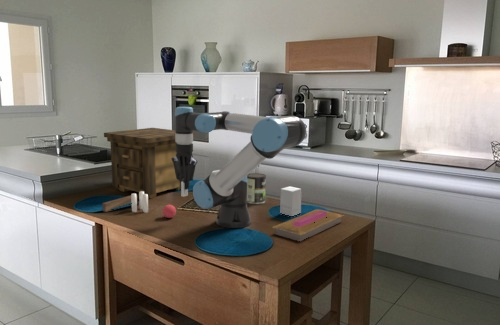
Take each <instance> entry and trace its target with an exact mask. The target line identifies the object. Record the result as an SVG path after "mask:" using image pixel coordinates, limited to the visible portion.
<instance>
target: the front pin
mask: <svg viewBox="0 0 500 325" xmlns="http://www.w3.org/2000/svg"><path fill="white" fill-rule="evenodd" d="M142 211H143V212H142V213H145V214H146V213H149V198H148V194H143V210H142Z"/></svg>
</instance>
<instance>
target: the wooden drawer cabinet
mask: <svg viewBox="0 0 500 325" xmlns="http://www.w3.org/2000/svg"><path fill="white" fill-rule="evenodd" d="M103 137H104V138H107V142H110V158H111V159H110V160H111V182H112V183H111V184H112V187H113V188H118V191H120V192H129V191H134V192H136V193H139V192H140V191H144V194H148V199H152V198H156V197H157V193H161V192H165V191H167V190H174V189H177V190H176V191H180V190H179V189H181V188H180V181H179V180H178V179H176V174H175V169H174V164H173V161H172V158H173V157H175V156H176V153H177V152H176V150H175V144H176V142H175V129H166V128H157V127H147V128H139V129H136V128H135V129H129V130H120V131H119V130H118V131H109V132H103ZM195 137H196V131H193V138H195ZM190 183H191V181H189V186H190Z"/></svg>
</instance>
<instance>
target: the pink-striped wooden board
mask: <svg viewBox="0 0 500 325" xmlns="http://www.w3.org/2000/svg"><path fill="white" fill-rule="evenodd" d="M344 216H345V215H344V214H340V213H339V214H338V213H336V212H331V211H328V210H323V209H319V208H316V209H314V210H312V211H309V212H307V213H304V214H302V215H297V217H293V218H291V219H289V220H287V221H284V222H281V223H279V224H277V225H274V226H272V227H271V228H273V229H274V235H277V236H281V237H283V238H287V239H289V238H290V240H294V241H296V240H297V242H299V241H300V242H303V241H304V239H305V240H306V238H307V239H308V237H309V238H310V237H311V238H312V236H315V235H317V234H320V233H321V232H323V231H325V230H327V229H329V228H331V227H333V226H336V225H338V224H340V223H342V217H344ZM326 217H327V218H326ZM314 222H315V223H314Z"/></svg>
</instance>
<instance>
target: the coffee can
mask: <svg viewBox="0 0 500 325" xmlns="http://www.w3.org/2000/svg"><path fill="white" fill-rule="evenodd" d="M266 181H267V175H266V174H264V173H259V172H258V173H256V172H254V173H253V172H252V173H251V172H250V173H249V174H248V175H247V182H248V183H247V204H252V205H261V204H265V203H266V186H267V185H266V183H267V182H266Z"/></svg>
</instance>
